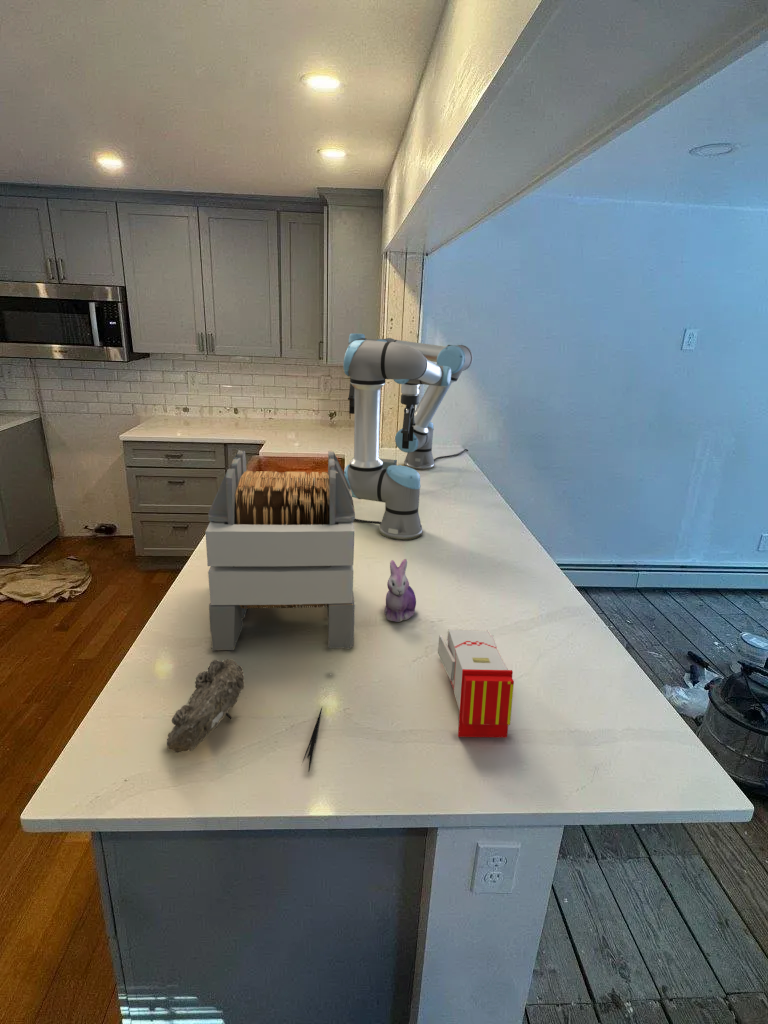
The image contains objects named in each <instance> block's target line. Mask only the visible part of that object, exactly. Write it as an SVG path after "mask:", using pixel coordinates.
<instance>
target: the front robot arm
mask: <svg viewBox="0 0 768 1024" xmlns="http://www.w3.org/2000/svg"><path fill="white" fill-rule="evenodd" d="M345 350H346V351H345V353H344V357H343V372H344V373H343V374H345V376H347V377H349V378H350V379H349V384H350V383H351V384H352V385H353V386H354V388H355V408H354V414H353V415H354V416H353V417H354V419H353V421H354V423H353V425H354V427H353V435H354V436H353V458H351V459H350V460H349V464H347V465H346V466H345V467H344V470H343V473H344V475H345V477H346V479H347V482H348V484H349V486H350V488H351V493H352V498H354V499H357V500H366V501H373V502H379V503H384V505H385V507H384V508H385V509H384V513H383V515H382V519H381V521H379V520H378V521H377V520H365V519H359V518H355V520H354V521H353V522H358V523H363V524H374V525H378V533H379V534H380V535H381V536H382V537H385V538H387V539H389V540H395V541H410V540H415V539H418V538H420V537H421V536H422V535H423V525H422V524H421V518H420V515H419V507H420V506H419V505H420V496H421V495H420V494H421V493H420V492H421V474H420V472H418V470H417V469H412V468H410V467H406V466H404V465H400V464H399V465H391V466H389V467H388V468H387V469H383V462H382V461H381V460H380V459H381V458H380V422H381V389H382V388H383V387H384V386H385V385H386V380H392V381H394V383H396V384H399V385H401V386H400V393H401V394H400V403H401V405H404V406H405V407H404V409H403V420H402V428H403V429H402V428H401V429H402V431H401V433H403V437H402V448H403V449H409V441H413V431H414V426H415V425H416V423H415V421H414V412H415V410H416V409H415V406H418V405H419V403H420V395H419V394H420V390H421V389H422V386H421V385H426V386H429V385H434V386H448V385H449V383H450V380H451V368H450V367H448V366H438V365H436V364H437V363H435V362H432V361H429V360H427V359H426V357H425V355H424V354H423V353H421V352H420V351H418V350H416V349H414V348H412V347H410V346H407V345H405V344H401V343H397V342H383V341H371V340H355V341H353V342H352V343H350V345H349V344H348V346H347V348H346V349H345Z"/></svg>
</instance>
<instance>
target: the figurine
mask: <svg viewBox="0 0 768 1024" xmlns="http://www.w3.org/2000/svg"><path fill="white" fill-rule="evenodd" d="M407 567H408V559H406V558H404V559H403V560H402V561H401V563H400V565H399V566H398V565H397V563H396V562H395V561H394V560H393V559H391V560H390V561H389V570H390V576H389V578H388V579H387V589H388V591H387V592H386V594H385V595H386V596H385V607H384V615H385V616H386V620H387V621H391V622H395V623H400V622H402V621H406V620H409V619H410V618H411V617H413V616H414V615H415V610H416V606H417V597H416V593H415V591H414V590H413V587H411V586H410V582H409V579H408V577H407V574H406V571H407Z"/></svg>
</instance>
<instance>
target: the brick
mask: <svg viewBox="0 0 768 1024" xmlns="http://www.w3.org/2000/svg"><path fill="white" fill-rule="evenodd" d="M379 459H380V460H381V461H382V462H383V469H387V468H388V467H389V466H391V465H397V464H398V460H397V459H391V458H379ZM397 466H398V465H397Z"/></svg>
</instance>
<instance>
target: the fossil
mask: <svg viewBox="0 0 768 1024" xmlns="http://www.w3.org/2000/svg"><path fill="white" fill-rule="evenodd" d="M243 670H244V669H243V667H242V665H240V664H237V662H236V661H235V660H234V659H232V658H231V659H227V658H226V659H224V660H223V661H222V660H217V659H212V660H211V661H210V663H209V665H208V666H207V671H201V672H199V673H198V674H197V675H196V676H195V680H194V684H195V685H194V687H195V689H194V690H193V693H192V694H191V697H190V698H189V700H188V704H184V705H182V706H181V707H180V709H177V710H176V711H175V713H174V715H173V716H172V718H171V723H172V724H173V727H172V730H171V731H170V732H168V734H167V738H166V741H167V742H166V745H167V749H168V750H169V751H173V752H174V753H176V754H178V753H182V752H188V751H189V752H192V751H193V750H195V748H196V747H197V746H199V744H200V743H201V742H203V741H204V740H205V739H206V738H207V737H208V736H209V735H210V734H211V733H212V732H214V730H215V729H217V727H218V726H219V724H220V722H221V721H222V720H223V719H224V718H225V716H226V717H227V719H229V720H233V717H232V715H230V714H229V710H230V709H231V708H234V706H235V704H236V703H237V702H238V699H239V697H240V695H241V693H242V691H243V690H245V689H244V688H245V675H244V671H243Z"/></svg>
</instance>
